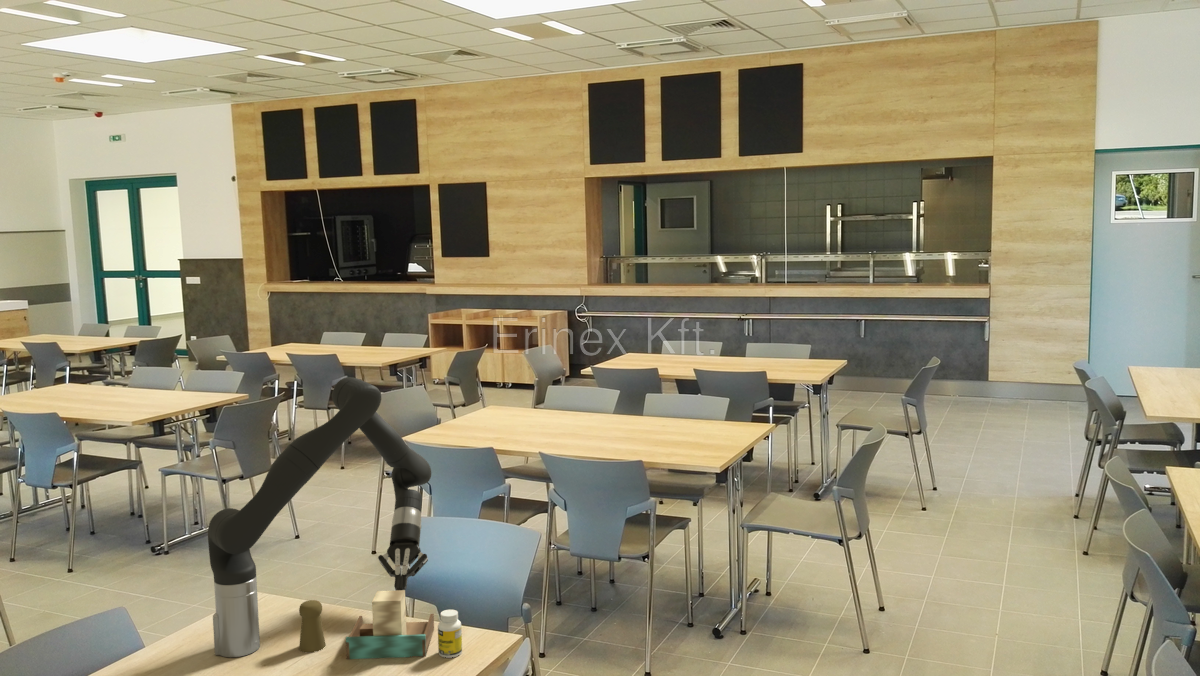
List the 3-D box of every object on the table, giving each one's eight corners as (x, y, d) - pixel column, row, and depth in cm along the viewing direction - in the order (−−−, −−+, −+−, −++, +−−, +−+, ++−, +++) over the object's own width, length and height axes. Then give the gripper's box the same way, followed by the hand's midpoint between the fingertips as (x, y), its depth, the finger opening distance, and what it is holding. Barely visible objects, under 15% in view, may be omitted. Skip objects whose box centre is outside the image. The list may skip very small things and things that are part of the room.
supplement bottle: (433, 655, 216) (432, 614, 215) (448, 646, 220) (446, 606, 219) (452, 660, 213) (451, 618, 212) (466, 651, 218) (465, 610, 217)
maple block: (373, 647, 216) (371, 601, 214) (378, 635, 222) (377, 591, 221) (402, 646, 216) (400, 600, 215) (406, 635, 222) (405, 590, 221)
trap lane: (346, 659, 214) (345, 638, 214) (360, 631, 230) (359, 612, 229) (425, 656, 215) (425, 635, 215) (434, 629, 230) (433, 609, 230)
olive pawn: (313, 639, 225) (311, 595, 224) (331, 645, 222) (329, 600, 221) (293, 649, 220) (291, 603, 219) (311, 654, 217) (309, 608, 216)
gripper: (378, 522, 242) (370, 585, 231) (429, 520, 242) (424, 583, 232) (382, 535, 248) (375, 598, 237) (433, 534, 248) (428, 596, 237)
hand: (400, 591), depth 234 cm, fingers closed
